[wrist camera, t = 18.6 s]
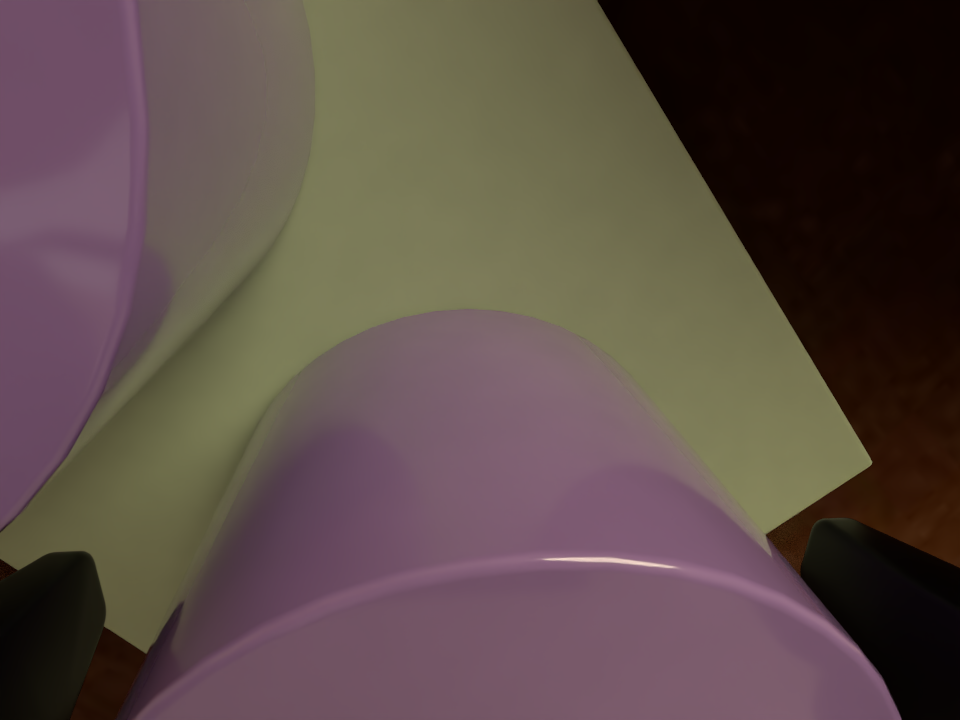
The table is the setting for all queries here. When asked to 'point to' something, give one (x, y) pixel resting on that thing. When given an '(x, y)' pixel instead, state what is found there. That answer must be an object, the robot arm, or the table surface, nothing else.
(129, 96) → the purple round puck
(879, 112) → the table surface
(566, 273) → the placemat
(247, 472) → the lavender cylinder puck
